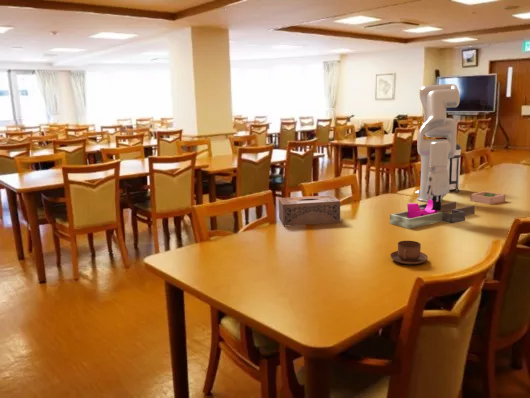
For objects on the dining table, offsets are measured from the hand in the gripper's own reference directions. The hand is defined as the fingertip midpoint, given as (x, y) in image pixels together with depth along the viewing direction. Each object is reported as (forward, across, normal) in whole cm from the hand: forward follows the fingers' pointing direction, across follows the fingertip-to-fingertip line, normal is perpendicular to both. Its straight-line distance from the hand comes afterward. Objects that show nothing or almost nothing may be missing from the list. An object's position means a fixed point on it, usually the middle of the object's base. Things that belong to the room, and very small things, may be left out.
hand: (436, 209), depth 213 cm
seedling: (+4, +46, +6) cm, 46 cm away
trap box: (+4, -1, +1) cm, 4 cm away
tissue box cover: (+5, -46, +34) cm, 57 cm away
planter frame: (+4, +48, +8) cm, 49 cm away
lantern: (+3, +56, +38) cm, 68 cm away
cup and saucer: (+5, -52, -32) cm, 61 cm away
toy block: (+4, -5, +2) cm, 6 cm away
